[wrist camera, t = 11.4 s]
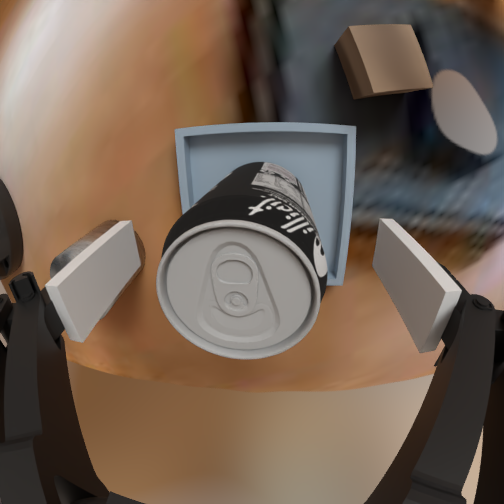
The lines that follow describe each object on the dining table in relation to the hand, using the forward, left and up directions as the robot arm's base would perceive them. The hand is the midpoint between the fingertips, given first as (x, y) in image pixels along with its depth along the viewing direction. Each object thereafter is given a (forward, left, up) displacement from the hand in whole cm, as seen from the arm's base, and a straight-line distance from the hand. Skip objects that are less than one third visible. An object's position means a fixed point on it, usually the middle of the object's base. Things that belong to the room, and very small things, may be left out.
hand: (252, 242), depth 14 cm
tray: (0, 0, -8) cm, 8 cm away
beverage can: (0, 0, -7) cm, 7 cm away
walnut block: (+8, +11, -8) cm, 16 cm away
